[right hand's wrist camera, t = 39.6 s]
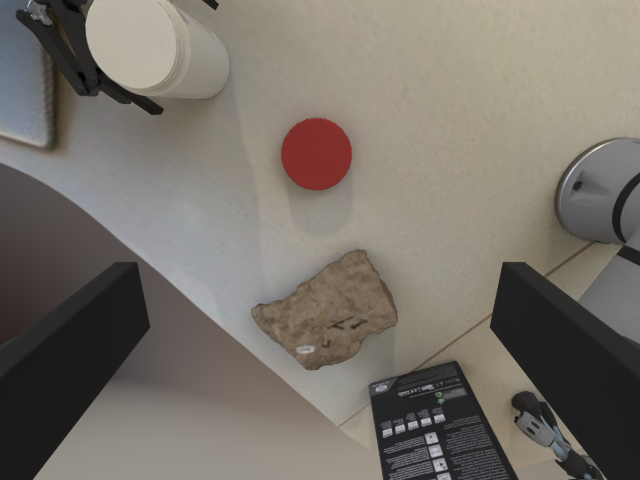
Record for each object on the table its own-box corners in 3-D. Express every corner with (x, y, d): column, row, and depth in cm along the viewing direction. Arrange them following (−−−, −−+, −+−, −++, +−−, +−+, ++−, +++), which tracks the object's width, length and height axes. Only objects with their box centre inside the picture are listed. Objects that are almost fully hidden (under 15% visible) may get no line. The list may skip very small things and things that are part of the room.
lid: (360, 171, 51) (362, 173, 49) (300, 197, 52) (299, 201, 50) (334, 105, 48) (335, 105, 46) (270, 135, 49) (268, 136, 47)
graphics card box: (375, 409, 67) (410, 595, 41) (363, 382, 64) (393, 562, 39) (463, 383, 65) (557, 563, 39) (454, 355, 62) (548, 526, 37)
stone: (297, 378, 60) (296, 396, 54) (250, 306, 59) (244, 317, 53) (402, 314, 59) (413, 325, 53) (357, 240, 58) (362, 243, 52)
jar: (174, 104, 48) (101, 103, 32) (153, 31, 44) (61, -11, 29) (237, 93, 47) (195, 86, 31) (220, 18, 44) (164, -31, 28)
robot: (573, 420, 68) (669, 540, 49) (553, 435, 69) (639, 556, 51) (506, 371, 64) (583, 481, 45) (486, 387, 65) (553, 501, 46)
